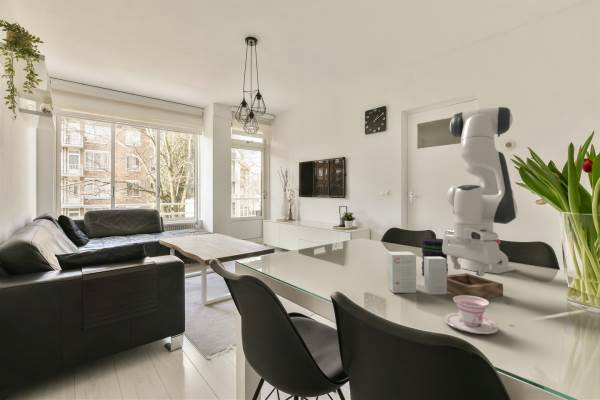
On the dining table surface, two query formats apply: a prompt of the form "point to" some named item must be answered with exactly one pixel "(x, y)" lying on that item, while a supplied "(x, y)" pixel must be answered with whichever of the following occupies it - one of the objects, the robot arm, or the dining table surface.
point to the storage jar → (432, 249)
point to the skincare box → (435, 275)
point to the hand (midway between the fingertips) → (468, 272)
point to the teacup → (471, 315)
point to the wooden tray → (473, 286)
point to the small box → (401, 272)
